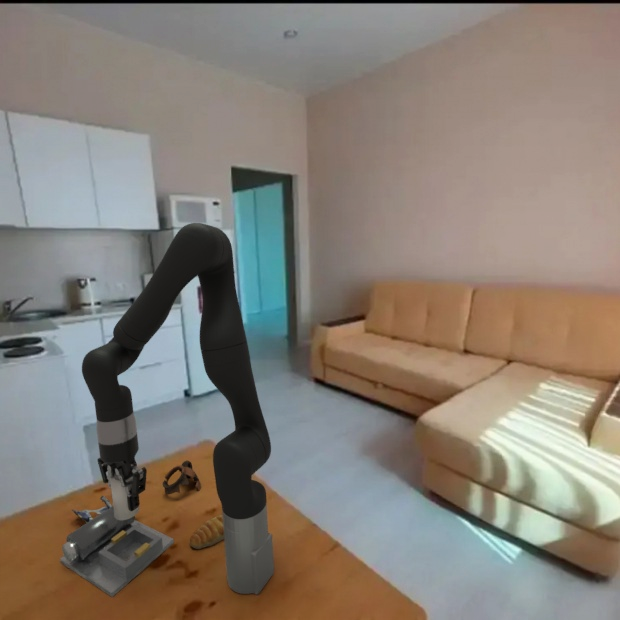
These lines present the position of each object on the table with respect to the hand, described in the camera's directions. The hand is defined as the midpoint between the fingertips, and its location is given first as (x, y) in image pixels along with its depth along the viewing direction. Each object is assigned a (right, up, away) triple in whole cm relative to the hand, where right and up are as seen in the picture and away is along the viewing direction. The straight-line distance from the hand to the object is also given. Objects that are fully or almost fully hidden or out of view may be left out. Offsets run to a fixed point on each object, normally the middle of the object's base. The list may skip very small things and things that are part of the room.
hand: (126, 504), depth 83 cm
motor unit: (-4, -14, +5) cm, 15 cm away
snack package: (-15, -13, +16) cm, 25 cm away
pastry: (+17, -13, +9) cm, 23 cm away
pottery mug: (+4, -10, +28) cm, 30 cm away
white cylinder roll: (0, -2, 0) cm, 2 cm away
